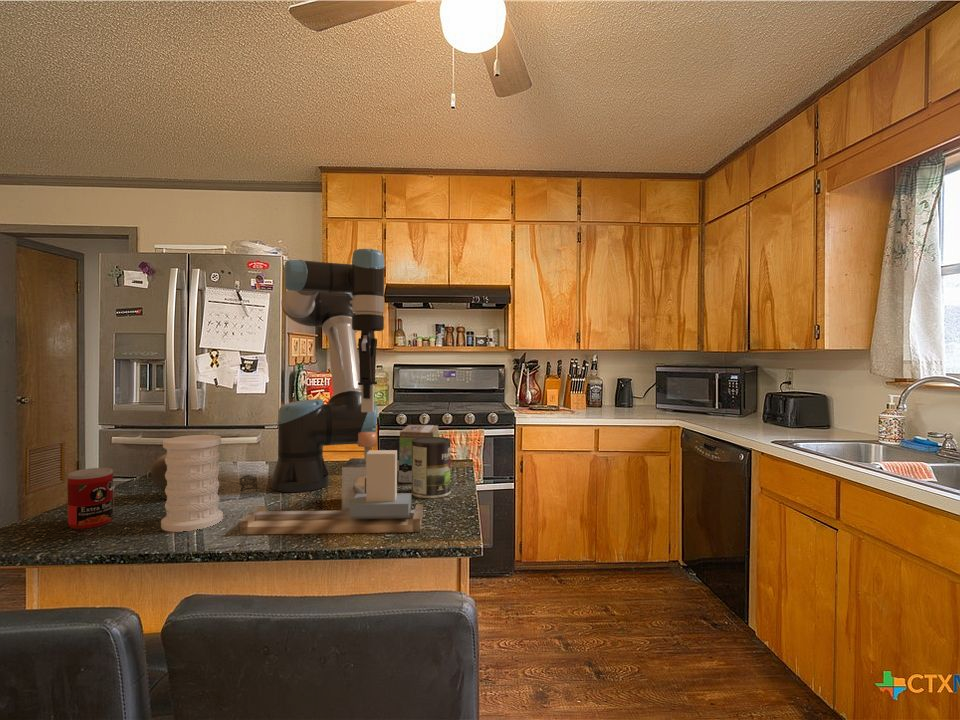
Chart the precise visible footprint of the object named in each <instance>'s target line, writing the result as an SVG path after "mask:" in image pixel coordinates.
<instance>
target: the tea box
mask: <svg viewBox="0 0 960 720" xmlns="http://www.w3.org/2000/svg"><path fill="white" fill-rule="evenodd" d="M420 437H439V425H433V424H432V425H429V424H408V425H406V426H405V427H404V428H403V429H401V430H400V431H399V450H398V453H399V454H398V457H399V458H398V478H397V483H405V484H406V483H407V484H408V483H409V484H412V439H415V438H420Z"/></svg>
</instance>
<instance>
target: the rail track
mask: <svg viewBox="0 0 960 720" xmlns="http://www.w3.org/2000/svg"><path fill="white" fill-rule="evenodd" d="M423 517H424V504H419V503H418V504H417V503H416V504H415V507H414V509H411V510H410V512H409V518H377V519H351V517H350V510H277V511H275V510H272V511H271V510H267V505H258V506H257V507H256V508H254V509H253V510H252V511H251V512H250V513H248V514H247V515H246V516H245V517H243V518H242V519H241V520H240V521H239V534H240V535H288V534H289V535H291V534H292V535H293V534H294V535H296V534H297V535H298V534H299V535H300V534H303V535H304V534H307V535H308V534H309V535H310V534H361V533H362V534H363V533H364V534H366V533H367V534H368V533H370V534H371V533H378V534H379V533H421V529H422V525H423Z"/></svg>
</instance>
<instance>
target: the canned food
mask: <svg viewBox="0 0 960 720" xmlns="http://www.w3.org/2000/svg"><path fill="white" fill-rule="evenodd" d="M113 517H114V470H113V468H110V467H93V468H84V469H78V470H75V471H72V472H69V473H68V474H67V524H68V527H69V528H71V529H74V530H83V529H84V530H85V529H86V530H87V529H92V528H97V527H98V528H99V527H101V526H104V525H107V524H109V523H110V522H112V520H113Z"/></svg>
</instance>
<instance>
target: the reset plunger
mask: <svg viewBox="0 0 960 720" xmlns="http://www.w3.org/2000/svg"><path fill="white" fill-rule="evenodd" d="M377 435H378V434H377V432H376V431H375V432H360V433H358V444H357V446H358V447H360V448H364V453H363V455H364V464H366V454H367V452H368V451H369V450H371V448H372V447H377V445H378V441H377V440H378V439H377V438H378V437H377Z"/></svg>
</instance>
